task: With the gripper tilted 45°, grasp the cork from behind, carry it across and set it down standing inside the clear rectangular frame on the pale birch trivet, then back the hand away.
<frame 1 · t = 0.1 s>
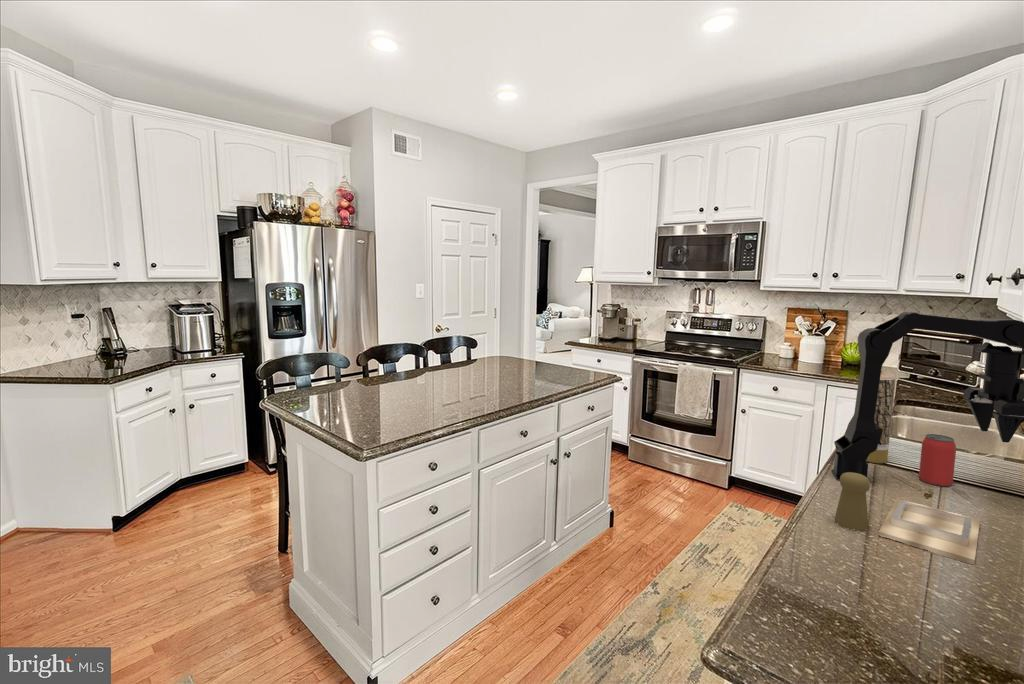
hand: (994, 436, 114), 15 cm above the countertop, tool pointing down, fingers open, 9 cm apart
birch trivet: (930, 529, 99), on the countertop
beer can: (935, 482, 123), on the countertop
cork: (851, 524, 102), on the countertop
brown tall cylinder: (872, 460, 139), on the countertop
clear rectangular frame: (931, 521, 99), on the birch trivet, point 1 cm above the countertop
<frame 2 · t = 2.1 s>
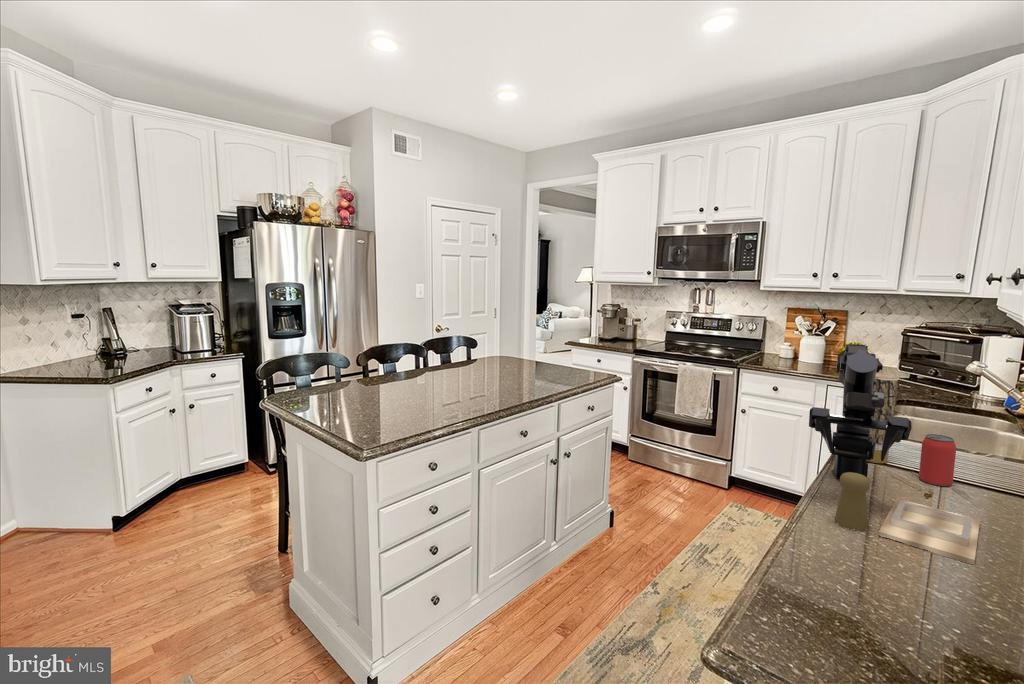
hand: (856, 456, 105), 13 cm above the countertop, tool tilted 45°, fingers open, 9 cm apart
brown tall cylinder: (872, 460, 139), on the countertop, touching arm
everything else where it was.
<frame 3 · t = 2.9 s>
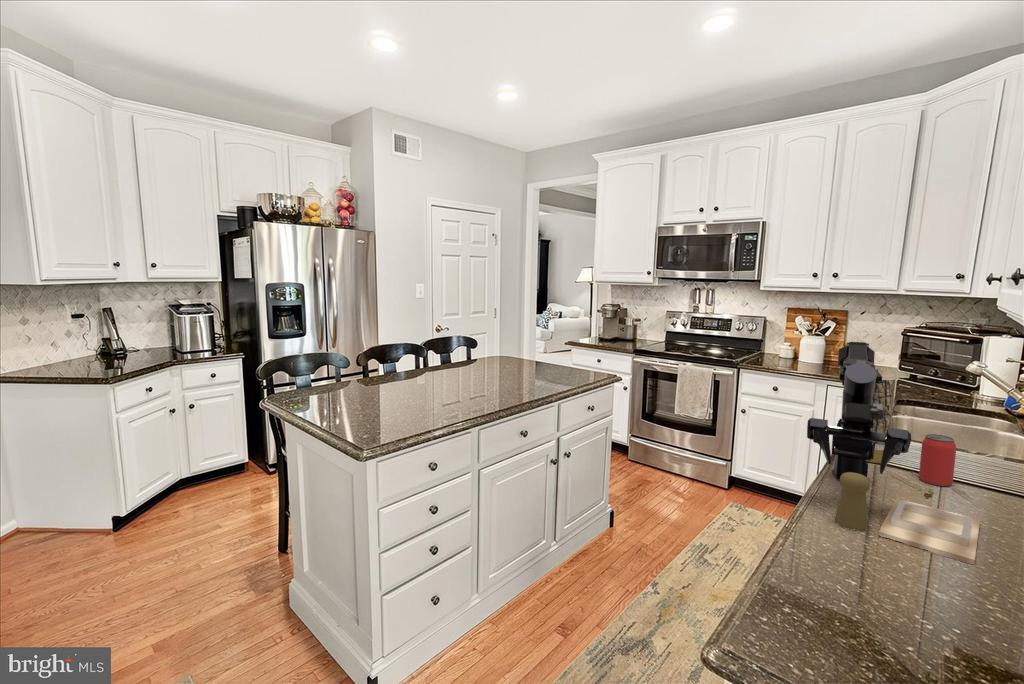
hand: (854, 468, 103), 11 cm above the countertop, tool tilted 45°, fingers open, 9 cm apart
brown tall cylinder: (872, 460, 139), on the countertop
everything else where it was.
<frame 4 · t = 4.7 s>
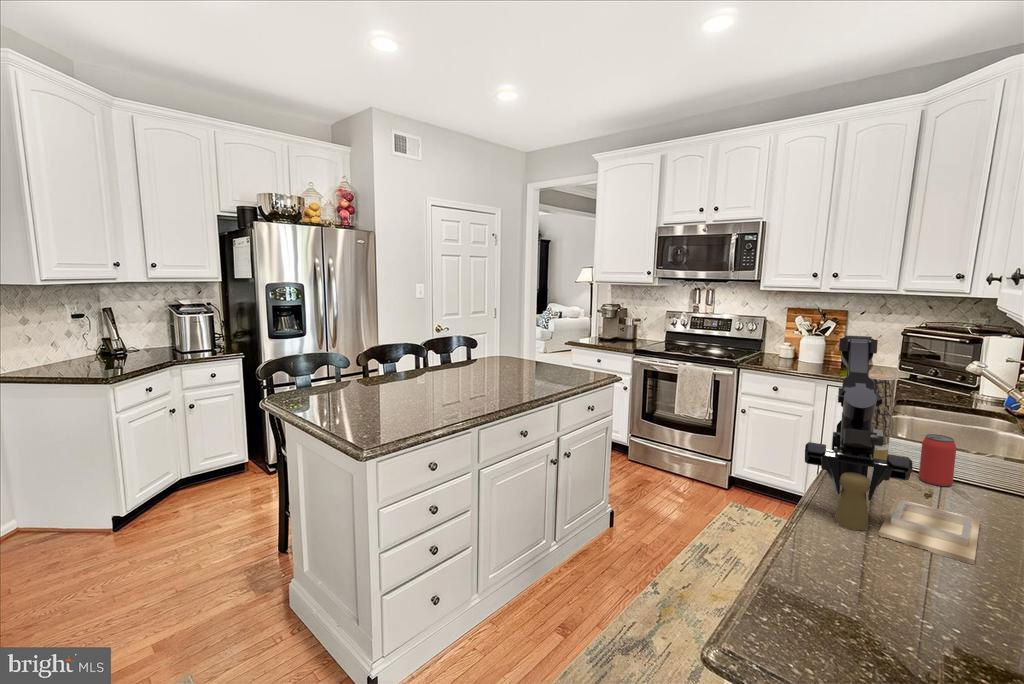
hand: (853, 496, 100), 7 cm above the countertop, tool tilted 45°, fingers closed on cork, 5 cm apart
cork: (851, 524, 102), on the countertop, touching gripper
everything else where it was.
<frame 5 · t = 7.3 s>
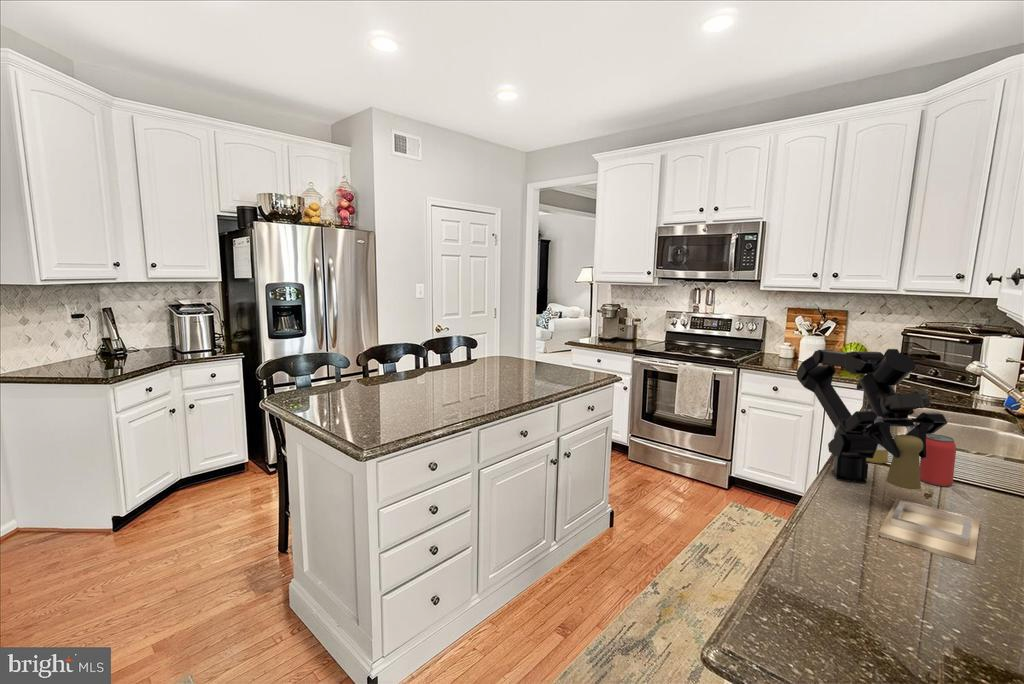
hand: (911, 457, 104), 13 cm above the countertop, tool tilted 45°, fingers closed on cork, 5 cm apart
cork: (903, 484, 106), point 6 cm above the countertop, touching gripper
everything else where it was.
when the fingers open (9 cm above the countertop, at t = 9.9 s): cork stays where it is, resting on birch trivet.
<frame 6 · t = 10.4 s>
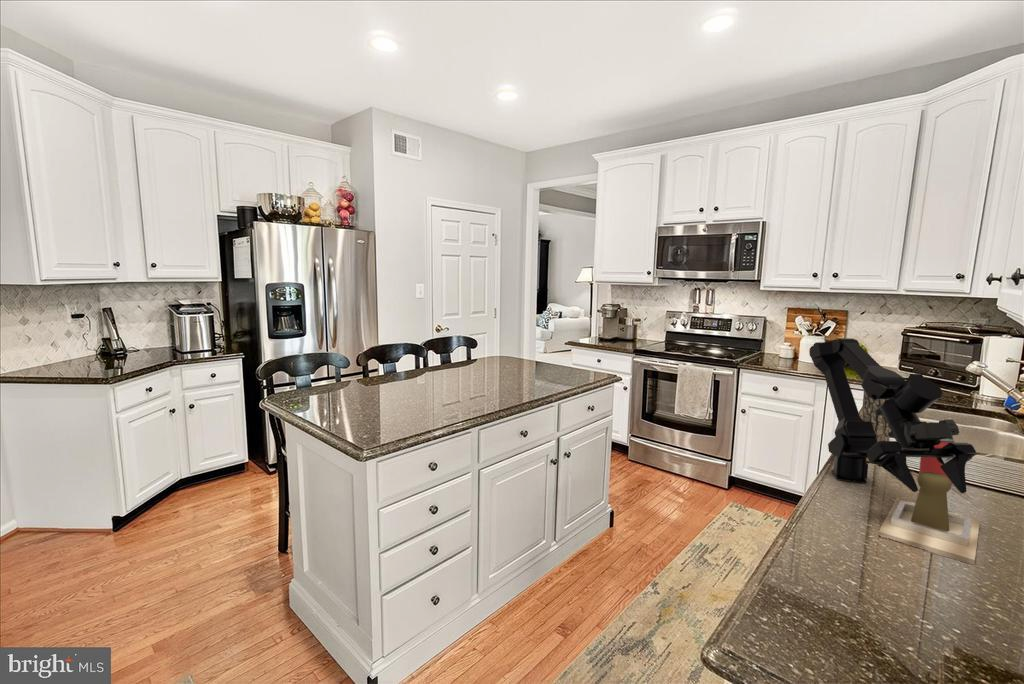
hand: (939, 491, 97), 9 cm above the countertop, tool tilted 45°, fingers open, 9 cm apart
cork: (929, 525, 99), point 1 cm above the countertop, touching birch trivet
everything else where it was.
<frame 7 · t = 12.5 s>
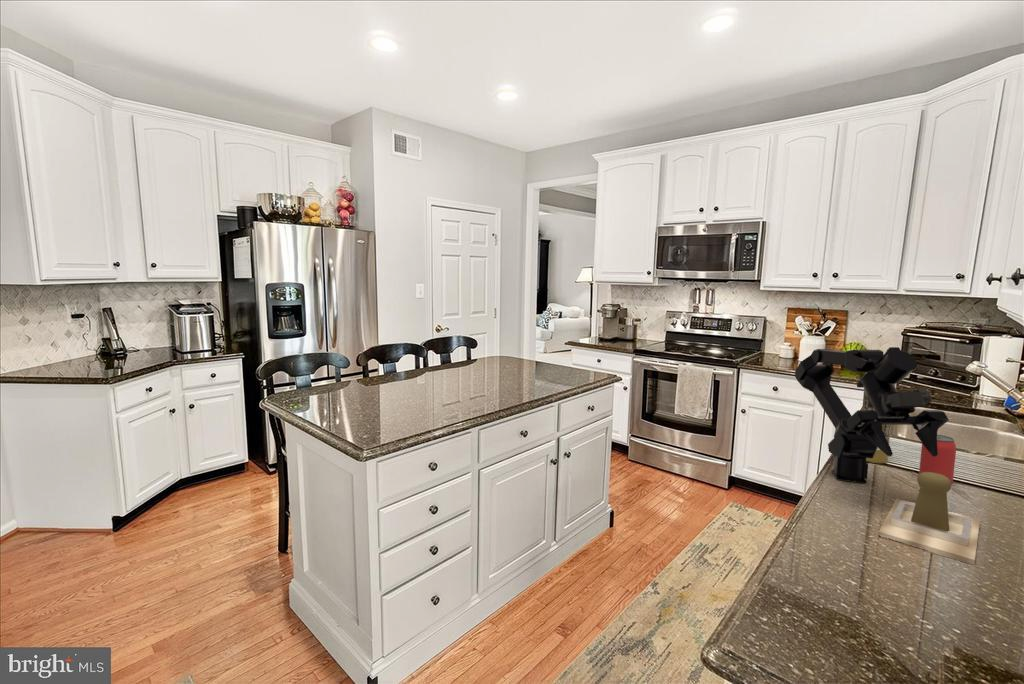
hand: (913, 455, 104), 14 cm above the countertop, tool tilted 45°, fingers open, 9 cm apart
nothing on the countertop moved.
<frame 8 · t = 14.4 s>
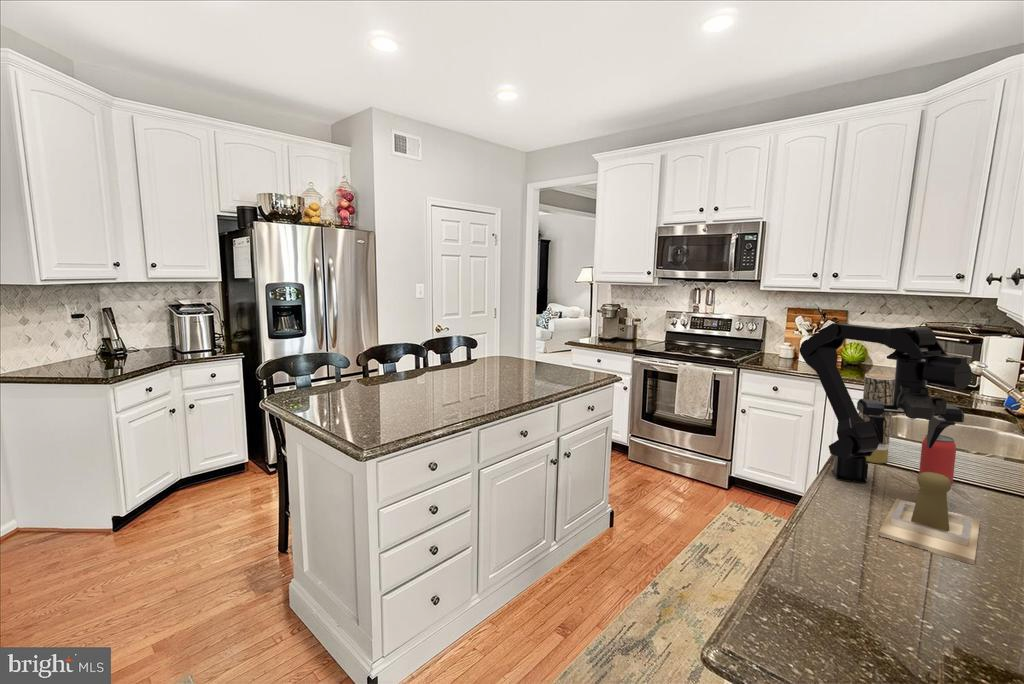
hand: (904, 445, 112), 13 cm above the countertop, tool pointing down, fingers open, 9 cm apart
nothing on the countertop moved.
at the end: cork 0.2 cm off-centre on the clear rectangular frame, point 0.8 cm above the clear rectangular frame's base; cork tilted 0°; the gripper is holding nothing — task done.
